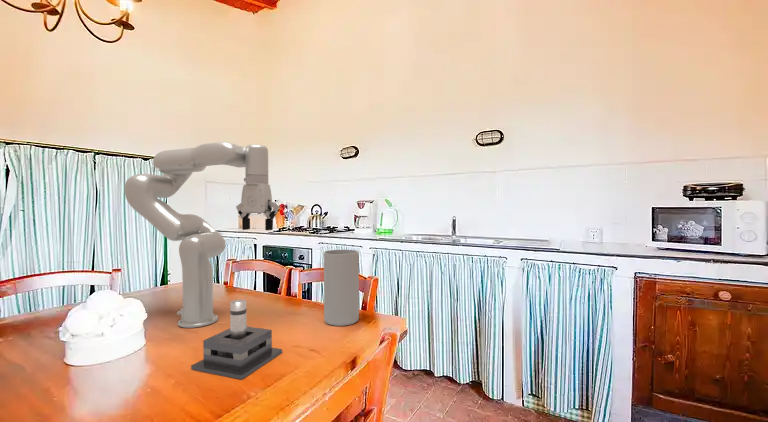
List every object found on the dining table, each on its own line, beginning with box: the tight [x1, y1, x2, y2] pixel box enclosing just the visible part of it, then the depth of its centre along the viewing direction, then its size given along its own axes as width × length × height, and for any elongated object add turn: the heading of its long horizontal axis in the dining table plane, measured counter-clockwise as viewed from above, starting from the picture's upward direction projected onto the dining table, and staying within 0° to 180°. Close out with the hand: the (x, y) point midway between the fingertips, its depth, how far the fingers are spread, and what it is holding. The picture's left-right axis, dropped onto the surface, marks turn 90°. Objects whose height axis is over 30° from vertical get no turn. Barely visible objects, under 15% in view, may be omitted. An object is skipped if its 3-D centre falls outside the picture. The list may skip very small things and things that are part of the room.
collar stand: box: [190, 326, 283, 380], centre depth 93 cm, size 16×16×7 cm
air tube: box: [229, 299, 248, 340], centre depth 93 cm, size 4×4×15 cm
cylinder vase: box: [323, 249, 360, 327], centre depth 125 cm, size 12×12×25 cm
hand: (257, 229), depth 121 cm, fingers open, 9 cm apart
